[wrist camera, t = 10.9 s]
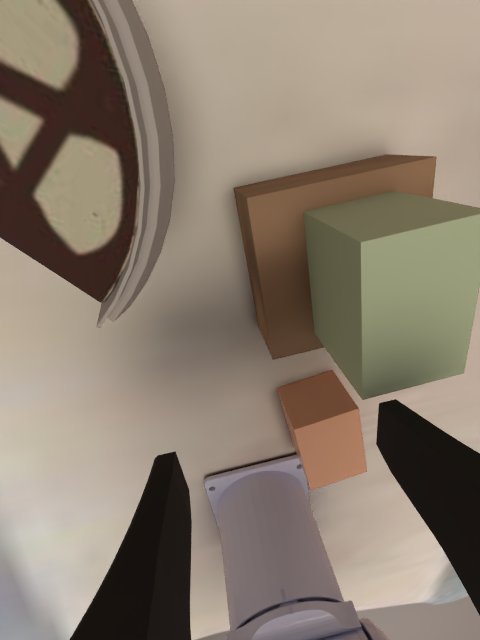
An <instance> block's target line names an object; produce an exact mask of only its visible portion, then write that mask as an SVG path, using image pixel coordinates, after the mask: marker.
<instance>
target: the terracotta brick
mask: <svg viewBox="0 0 480 640" xmlns="http://www.w3.org/2000/svg"><path fill="white" fill-rule="evenodd" d="M277 390H278V393H279V397H280V400H281V404H282V407H283V411H284V414H285V418H286V421H287V424H288V428H289V431H290V435H291V438H292V442H293V445H294V448H295V450H296V453H297V456H298V458H299V461H300V463H301V466H302V469H303V471H304V474H305V476H306V479H307V482H308V484H309V487H310V489H311V490H313V489H316V488H319V487H322V486H325V485H328V484H331V483H334V482H337V481H340V480H343V479H346V478H349V477H352V476H355V475H358V474H361V473H364V472H367V467H366V459H365V452H364V444H363V437H362V429H361V422H360V414H359V408H358V407H357V405H356V404H355V402H354V401H353V399H352V398H351V397H350V395H349V394H348V392H347V391H346V389H345V388H344V386H343V385H342V383H341V382H340V381H339V379H338V378H337V376H336V375H335V373H334V372H333V370H330V371H327V372H324V373H321V374H318V375H315V376H312V377H309V378H306V379H303V380H300V381H297V382H294V383H291V384H288V385H285V386H282V387H279V388H277Z"/></svg>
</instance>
